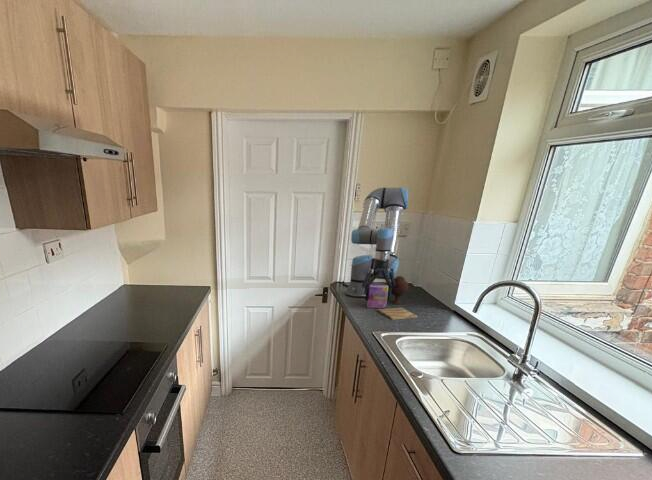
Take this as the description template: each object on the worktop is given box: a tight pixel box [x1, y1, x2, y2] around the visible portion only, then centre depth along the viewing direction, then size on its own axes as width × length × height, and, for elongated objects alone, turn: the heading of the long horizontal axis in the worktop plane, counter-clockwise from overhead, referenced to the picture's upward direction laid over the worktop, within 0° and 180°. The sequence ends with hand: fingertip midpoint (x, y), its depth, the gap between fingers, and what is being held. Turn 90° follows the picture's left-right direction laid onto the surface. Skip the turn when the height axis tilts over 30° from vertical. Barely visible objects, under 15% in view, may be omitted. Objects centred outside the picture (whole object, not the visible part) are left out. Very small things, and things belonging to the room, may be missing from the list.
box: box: [366, 284, 388, 309], centre depth 229 cm, size 10×6×12 cm, turn 73°
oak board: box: [377, 307, 419, 321], centre depth 218 cm, size 16×14×1 cm
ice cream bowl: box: [390, 275, 410, 305], centre depth 235 cm, size 11×11×15 cm
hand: (377, 299), depth 230 cm, fingers closed on box, 12 cm apart
